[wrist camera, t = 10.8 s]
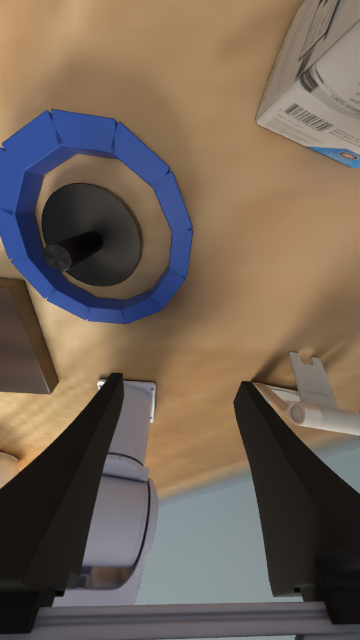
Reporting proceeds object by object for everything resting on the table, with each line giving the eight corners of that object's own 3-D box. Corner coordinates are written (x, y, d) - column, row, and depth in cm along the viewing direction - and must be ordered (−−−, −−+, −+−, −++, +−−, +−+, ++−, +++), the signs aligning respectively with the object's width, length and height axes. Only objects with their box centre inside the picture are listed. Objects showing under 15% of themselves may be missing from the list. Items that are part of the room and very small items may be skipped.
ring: (179, 317, 21) (180, 328, 19) (43, 305, 20) (29, 316, 18) (202, 142, 13) (206, 132, 11) (-18, 108, 12) (-53, 91, 10)
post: (142, 286, 19) (128, 321, 14) (60, 278, 18) (10, 311, 13) (142, 191, 15) (122, 185, 9) (36, 177, 14) (-52, 161, 9)
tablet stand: (246, 387, 27) (270, 451, 20) (275, 347, 24) (317, 410, 16) (296, 397, 29) (335, 460, 22) (332, 361, 25) (394, 424, 18)
